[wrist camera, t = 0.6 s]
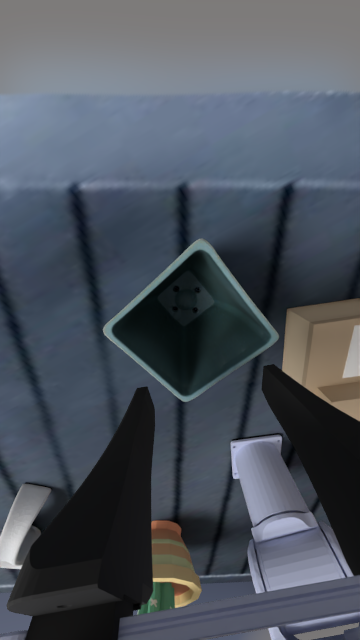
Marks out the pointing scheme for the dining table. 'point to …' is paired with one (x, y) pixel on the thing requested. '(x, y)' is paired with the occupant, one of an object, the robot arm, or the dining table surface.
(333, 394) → the mailer lid
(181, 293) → the flower pot
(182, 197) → the dining table surface
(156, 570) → the potted cactus
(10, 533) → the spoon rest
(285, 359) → the box
